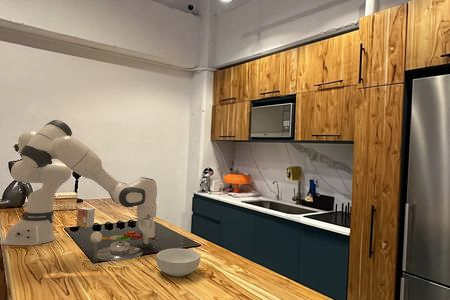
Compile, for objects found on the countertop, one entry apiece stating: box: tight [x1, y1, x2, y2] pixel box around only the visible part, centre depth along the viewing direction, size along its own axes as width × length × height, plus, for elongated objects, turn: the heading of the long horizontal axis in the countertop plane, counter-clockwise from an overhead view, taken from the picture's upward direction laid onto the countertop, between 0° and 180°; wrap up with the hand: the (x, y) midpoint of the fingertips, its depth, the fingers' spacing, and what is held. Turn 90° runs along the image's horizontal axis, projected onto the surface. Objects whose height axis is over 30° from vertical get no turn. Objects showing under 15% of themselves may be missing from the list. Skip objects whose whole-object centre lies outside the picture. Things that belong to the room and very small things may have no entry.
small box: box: [76, 206, 96, 229], centre depth 186 cm, size 8×6×10 cm
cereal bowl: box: [156, 247, 201, 277], centre depth 123 cm, size 17×17×7 cm
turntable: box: [97, 238, 149, 262], centre depth 139 cm, size 23×20×6 cm
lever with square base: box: [89, 231, 103, 264], centre depth 125 cm, size 4×5×14 cm
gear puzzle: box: [101, 230, 160, 242], centre depth 164 cm, size 31×16×4 cm, turn 130°
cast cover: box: [109, 240, 131, 255], centre depth 138 cm, size 8×8×5 cm
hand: (145, 243), depth 144 cm, fingers closed
